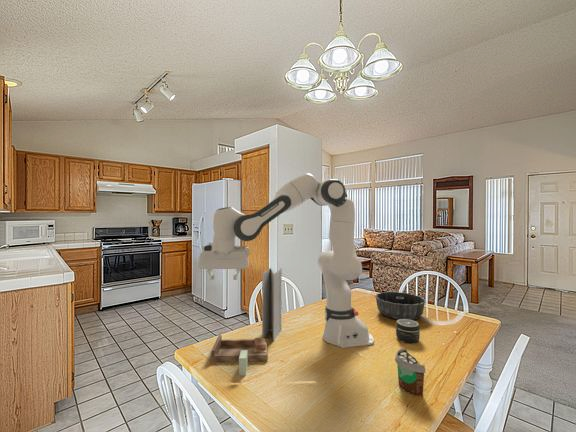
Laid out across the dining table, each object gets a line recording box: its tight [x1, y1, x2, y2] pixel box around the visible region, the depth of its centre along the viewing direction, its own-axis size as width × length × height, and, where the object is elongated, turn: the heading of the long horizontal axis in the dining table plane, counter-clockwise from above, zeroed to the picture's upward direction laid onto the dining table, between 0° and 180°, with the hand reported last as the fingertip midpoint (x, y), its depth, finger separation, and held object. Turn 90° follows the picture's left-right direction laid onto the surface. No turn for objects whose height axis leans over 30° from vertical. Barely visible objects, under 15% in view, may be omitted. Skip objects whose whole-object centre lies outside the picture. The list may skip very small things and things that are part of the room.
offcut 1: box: [254, 337, 266, 351], centre depth 116 cm, size 4×6×2 cm, turn 10°
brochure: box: [261, 267, 283, 342], centre depth 134 cm, size 14×6×30 cm, turn 168°
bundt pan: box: [374, 291, 427, 321], centre depth 161 cm, size 26×26×10 cm
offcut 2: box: [254, 343, 267, 354], centre depth 116 cm, size 5×8×2 cm, turn 2°
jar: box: [395, 318, 421, 345], centre depth 129 cm, size 10×10×8 cm
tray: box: [210, 334, 269, 364], centre depth 115 cm, size 21×14×5 cm, turn 92°
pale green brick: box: [238, 350, 249, 376], centre depth 102 cm, size 2×6×6 cm, turn 3°
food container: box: [394, 347, 426, 397], centre depth 94 cm, size 12×6×10 cm, turn 5°
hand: (223, 279), depth 119 cm, fingers open, 8 cm apart
